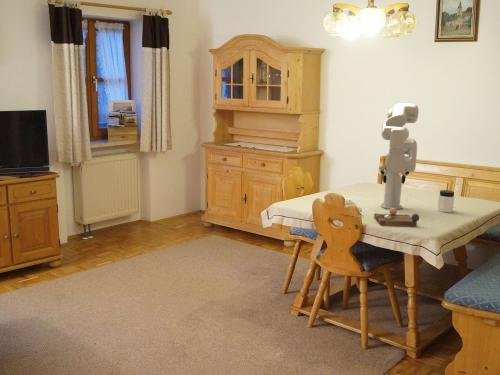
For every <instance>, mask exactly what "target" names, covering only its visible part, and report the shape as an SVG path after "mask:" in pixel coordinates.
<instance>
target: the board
mask: <svg viewBox="0 0 500 375" xmlns="http://www.w3.org/2000/svg"><path fill="white" fill-rule="evenodd" d="M373 215H374V216H373V219H374V218H375V219H376V220H375V219H374V220H375V221H376V222H377V223H378V224H379V225H380V226H389V227H390V226H391V227H415V228H417V224H418V221H413V220H412V216H411V215H410V214H398V213H396V214H395V215H391V214H390V213H374V214H373ZM385 215H390V216H391V219H386V218H384V216H385Z"/></svg>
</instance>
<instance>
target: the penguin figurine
mask: <svg viewBox="0 0 500 375" xmlns="http://www.w3.org/2000/svg"><path fill="white" fill-rule="evenodd" d="M344 199H345V202H346V205H353V206H356V207H358V208H359V210H360V212H361V213H362V212H363V208H362V207H361V206H359V205H357V204H356V202H354V201H353V200H352V199H351V198H348V197H345V198H344Z"/></svg>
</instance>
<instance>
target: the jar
mask: <svg viewBox="0 0 500 375" xmlns="http://www.w3.org/2000/svg"><path fill="white" fill-rule="evenodd" d="M437 200H438V201H437V211H438V212H441V213H449V212H451V213H452V212H454V203H455V191H453V190H449V189H448V190H447V189H442V190H439V195H438V199H437Z"/></svg>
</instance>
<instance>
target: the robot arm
mask: <svg viewBox="0 0 500 375" xmlns="http://www.w3.org/2000/svg"><path fill="white" fill-rule="evenodd" d="M419 112H420V110H419V107H418V105H417V104H415V103H407V102H406V103H402V102H399V103H395V104H394V105H393V106H392V108H390V109H388V111H387V119H386V120H385V121H384V122H383V124H382V127H381V138H382V139H383V140H385V141H389V148H388V150H389V151H388V153H387V154H386V157H385V163H384V164H382V165H381V166H379V167H378V170H379V172H380V173H381V175H382V182H383V183H384V184H385V185H384V194H383V195H384V196H383V199H384V200H383V203H381V205H380V207H381V208H382V209H383V208H384V209H388V210H390V209H391V208H395V209H396V210H401V209H403V205H401V197H402V196H401V195H402V185H404V184H405V182H406V177H407V176H408V175H409V174H410V173H414V172H415V170H416V169H417V168H416V167H417V166H416V165H417V155H418V153H417V152H418V143H417V141H416V140H415V139H413V138H409V137H410V130H408V128H407V127H405V125H407V124H414V123H416V122H418V118H419ZM383 169H384V171H383ZM401 175H402V176H401Z"/></svg>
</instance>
